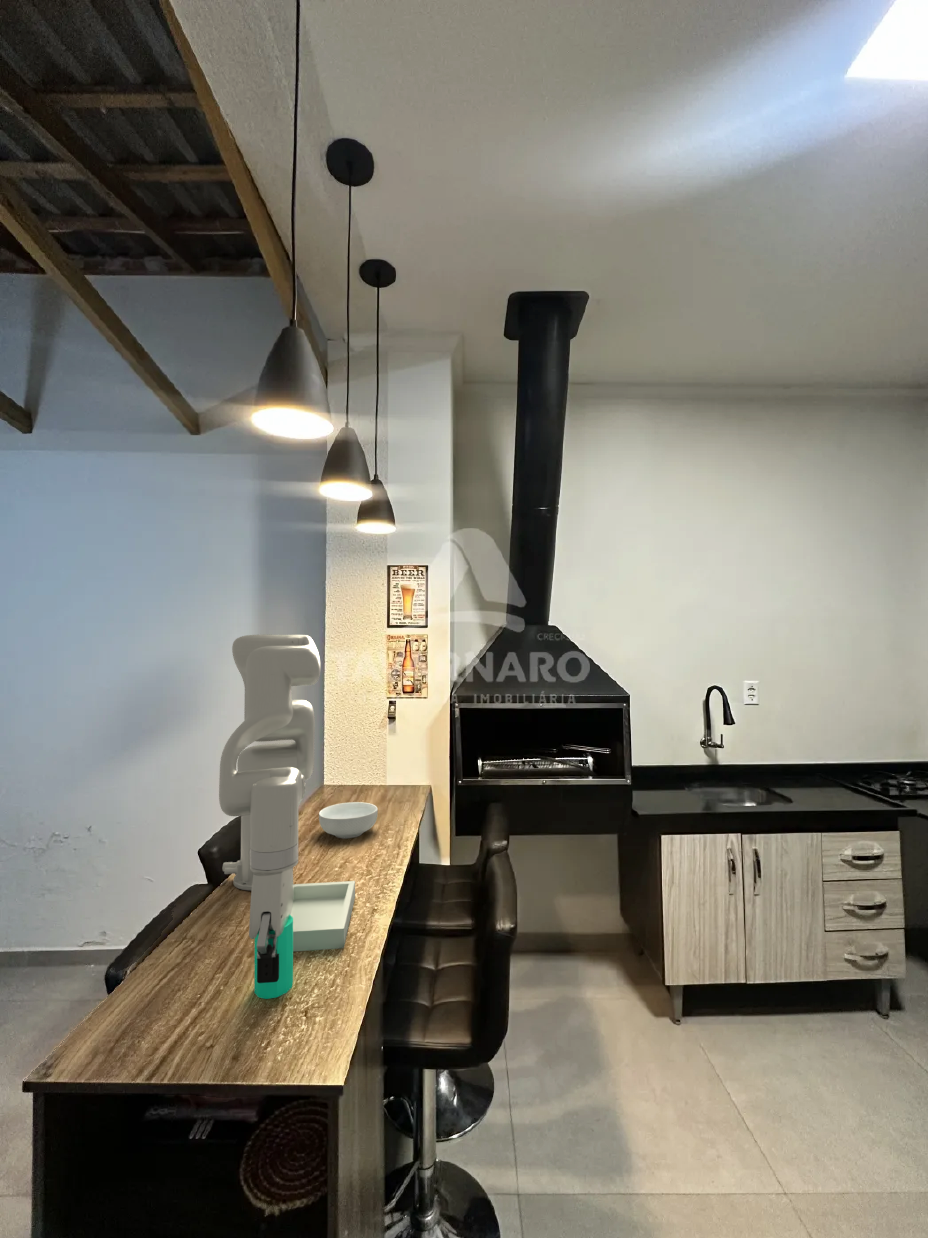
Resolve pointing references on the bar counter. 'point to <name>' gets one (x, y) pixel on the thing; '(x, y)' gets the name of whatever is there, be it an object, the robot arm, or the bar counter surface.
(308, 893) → the tray
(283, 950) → the candle
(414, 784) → the bar counter surface
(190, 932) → the bar counter surface
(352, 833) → the cereal bowl
